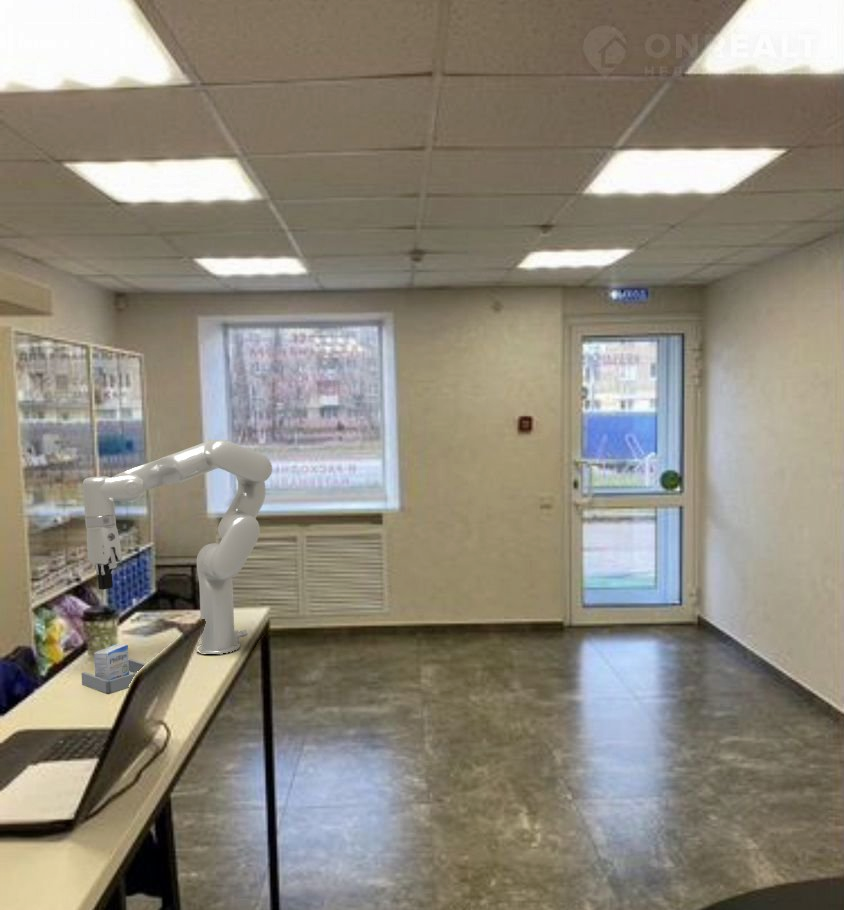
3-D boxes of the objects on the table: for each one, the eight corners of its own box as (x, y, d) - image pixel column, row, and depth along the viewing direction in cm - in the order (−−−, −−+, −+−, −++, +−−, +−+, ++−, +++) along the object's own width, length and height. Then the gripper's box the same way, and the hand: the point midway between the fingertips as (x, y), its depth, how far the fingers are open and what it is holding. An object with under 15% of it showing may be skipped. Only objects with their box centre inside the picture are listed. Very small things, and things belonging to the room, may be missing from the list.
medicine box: (109, 686, 184) (107, 653, 184) (94, 685, 186) (93, 652, 185) (129, 676, 192) (128, 644, 192) (115, 675, 193) (114, 643, 193)
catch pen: (130, 669, 197) (130, 658, 197) (157, 678, 190) (156, 667, 189) (81, 684, 187) (81, 672, 187) (107, 694, 179) (107, 682, 179)
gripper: (128, 521, 194) (133, 588, 195) (99, 518, 203) (104, 583, 204) (102, 525, 188) (107, 594, 189) (73, 522, 197) (78, 588, 198)
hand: (105, 588), depth 197 cm, fingers closed
